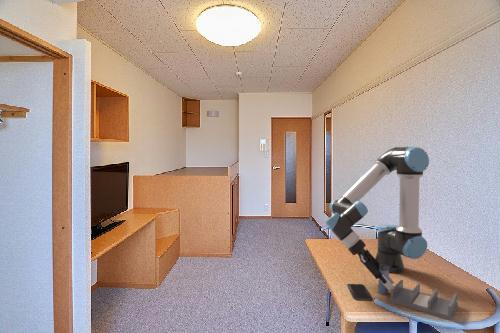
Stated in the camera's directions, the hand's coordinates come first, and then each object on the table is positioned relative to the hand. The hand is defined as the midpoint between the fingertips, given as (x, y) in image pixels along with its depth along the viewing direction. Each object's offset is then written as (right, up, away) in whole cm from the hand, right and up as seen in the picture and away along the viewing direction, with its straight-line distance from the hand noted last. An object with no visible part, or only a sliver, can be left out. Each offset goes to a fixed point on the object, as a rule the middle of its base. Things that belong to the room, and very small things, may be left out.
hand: (391, 286), depth 139 cm
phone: (-13, -4, +1) cm, 14 cm away
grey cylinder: (-3, -4, +2) cm, 5 cm away
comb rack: (+9, -4, -8) cm, 13 cm away
